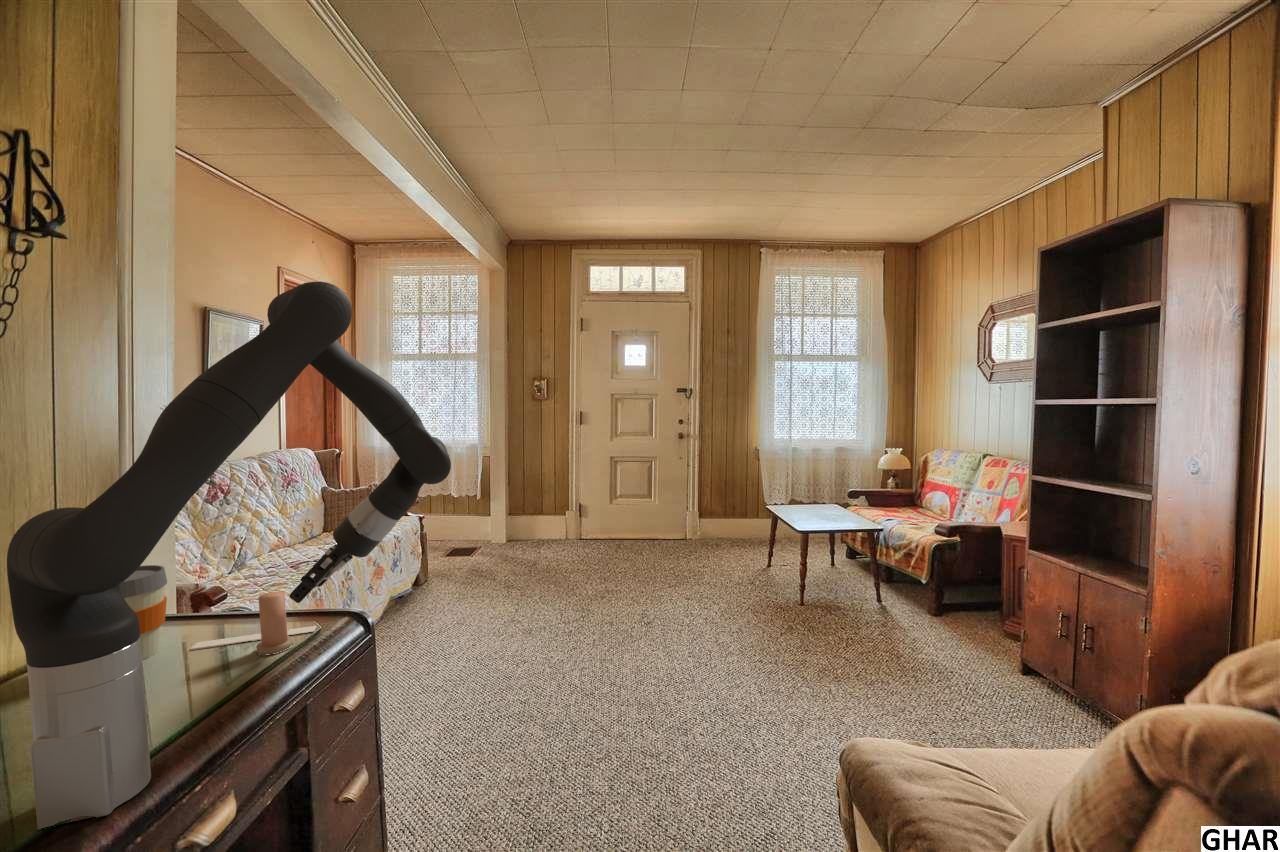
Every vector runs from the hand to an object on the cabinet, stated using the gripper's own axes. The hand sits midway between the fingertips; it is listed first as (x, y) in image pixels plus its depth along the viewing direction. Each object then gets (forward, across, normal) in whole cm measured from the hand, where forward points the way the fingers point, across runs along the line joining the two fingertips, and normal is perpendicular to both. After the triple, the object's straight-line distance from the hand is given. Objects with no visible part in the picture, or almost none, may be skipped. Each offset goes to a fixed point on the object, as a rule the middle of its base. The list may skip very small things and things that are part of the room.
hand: (305, 591), depth 104 cm
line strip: (+16, -6, -1) cm, 17 cm away
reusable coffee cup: (+30, -2, -15) cm, 33 cm away
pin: (+11, 0, +3) cm, 12 cm away
